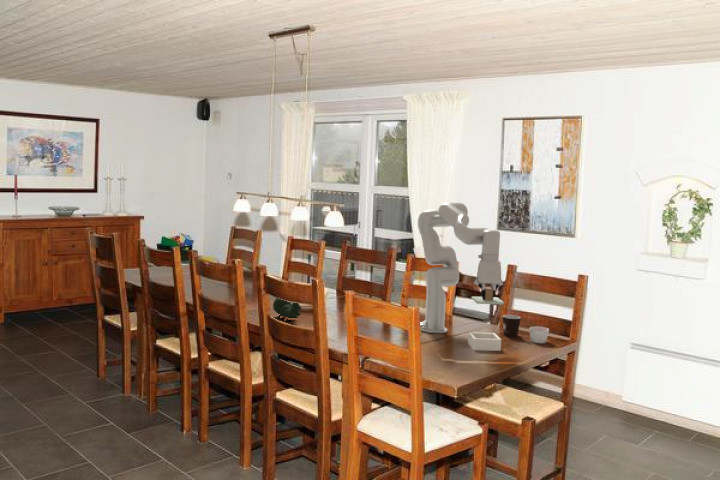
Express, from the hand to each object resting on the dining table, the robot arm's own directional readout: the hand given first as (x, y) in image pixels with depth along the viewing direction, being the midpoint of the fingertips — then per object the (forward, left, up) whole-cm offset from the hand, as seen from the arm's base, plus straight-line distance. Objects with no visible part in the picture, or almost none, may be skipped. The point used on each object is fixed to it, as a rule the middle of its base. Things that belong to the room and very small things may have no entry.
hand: (487, 298), depth 304 cm
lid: (0, 0, -1) cm, 1 cm away
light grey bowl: (+30, +16, -23) cm, 41 cm away
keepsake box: (0, 0, -23) cm, 23 cm away
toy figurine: (-92, +50, -23) cm, 107 cm away
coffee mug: (+19, +25, -23) cm, 39 cm away
